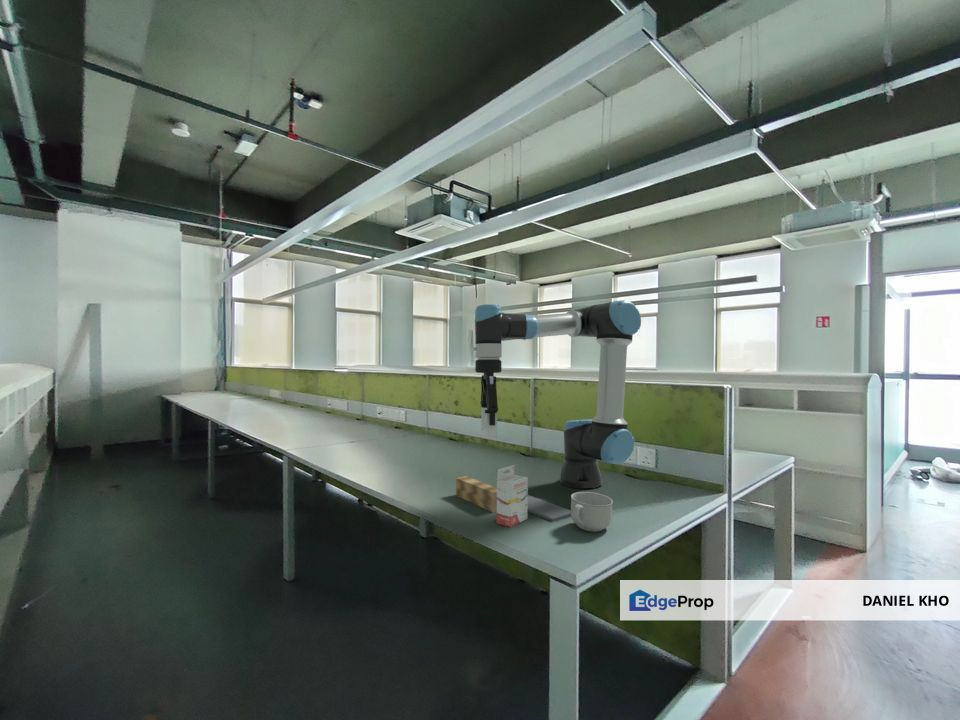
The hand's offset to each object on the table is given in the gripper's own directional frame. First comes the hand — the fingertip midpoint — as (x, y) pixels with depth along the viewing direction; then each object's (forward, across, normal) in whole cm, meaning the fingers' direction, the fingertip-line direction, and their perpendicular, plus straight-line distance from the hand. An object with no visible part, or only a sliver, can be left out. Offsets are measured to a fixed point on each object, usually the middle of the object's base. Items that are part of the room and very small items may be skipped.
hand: (488, 433), depth 120 cm
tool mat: (+24, -5, +15) cm, 29 cm away
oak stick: (+24, -12, -2) cm, 27 cm away
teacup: (+24, +12, +25) cm, 36 cm away
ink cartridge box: (+24, +5, +6) cm, 25 cm away
